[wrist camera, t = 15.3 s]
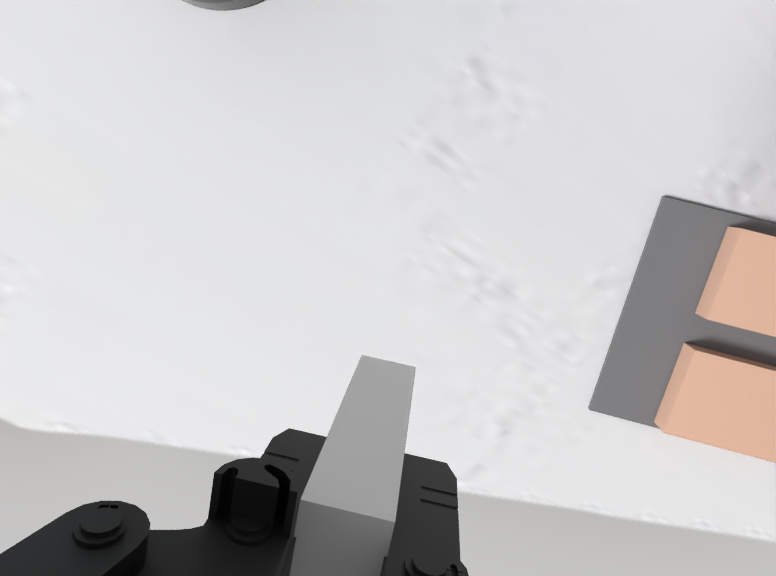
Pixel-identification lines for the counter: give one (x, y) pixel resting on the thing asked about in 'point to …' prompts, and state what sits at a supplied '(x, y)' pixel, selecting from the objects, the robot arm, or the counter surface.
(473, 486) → the counter surface
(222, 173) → the counter surface
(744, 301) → the tile
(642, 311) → the mat
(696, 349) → the tile
